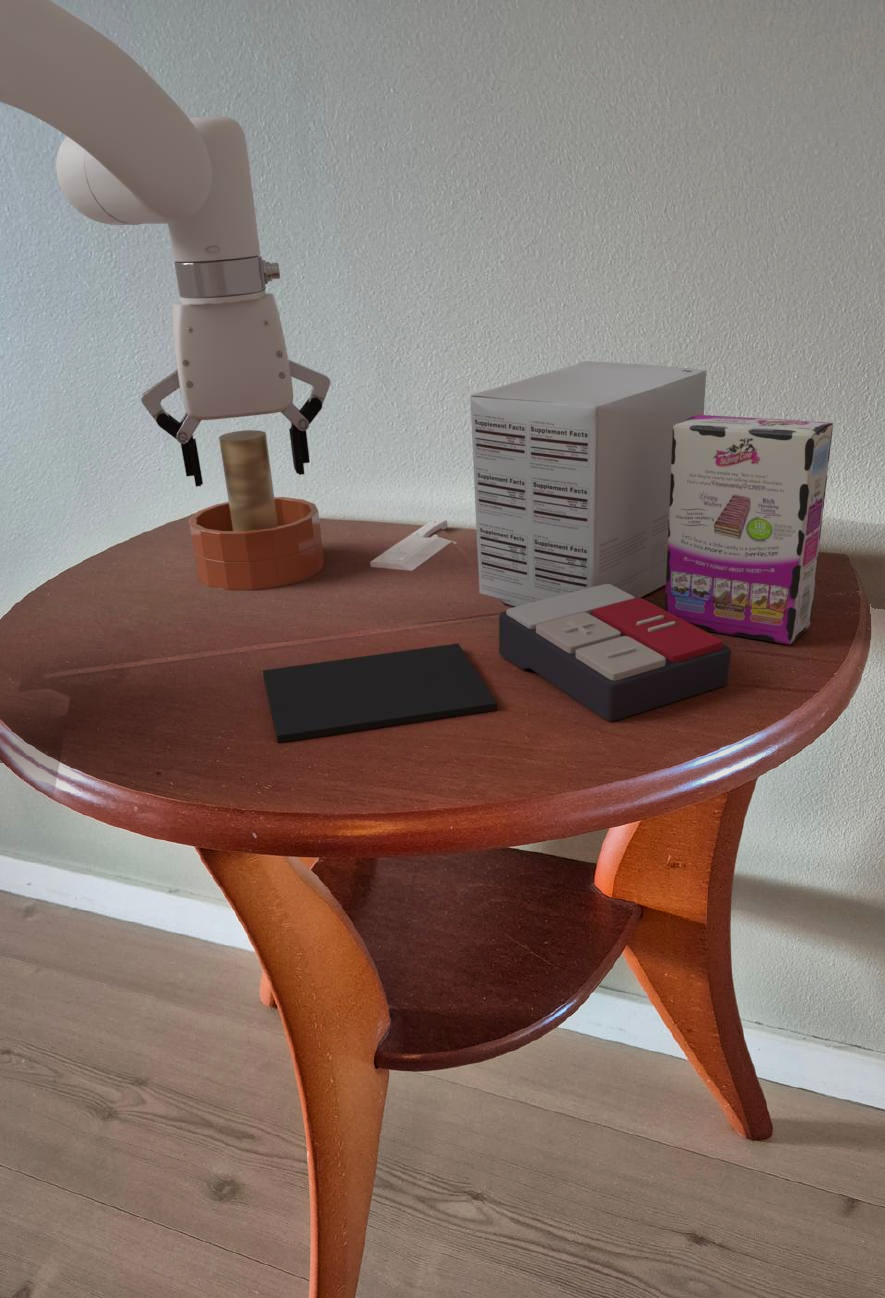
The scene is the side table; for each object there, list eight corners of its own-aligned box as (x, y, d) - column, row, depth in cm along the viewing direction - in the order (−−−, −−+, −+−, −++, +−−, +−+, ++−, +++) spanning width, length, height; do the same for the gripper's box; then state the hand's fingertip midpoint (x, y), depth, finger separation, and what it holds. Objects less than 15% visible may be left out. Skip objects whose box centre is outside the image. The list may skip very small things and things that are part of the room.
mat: (277, 743, 76) (276, 735, 76) (263, 676, 86) (262, 669, 86) (497, 710, 79) (497, 702, 79) (458, 649, 89) (458, 642, 89)
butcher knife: (475, 530, 117) (475, 520, 117) (415, 575, 106) (414, 564, 105) (433, 526, 119) (432, 516, 119) (369, 570, 108) (368, 559, 107)
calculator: (612, 676, 74) (496, 603, 85) (609, 731, 76) (496, 653, 88) (735, 639, 78) (609, 574, 90) (728, 692, 81) (607, 623, 92)
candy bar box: (812, 626, 89) (837, 420, 81) (791, 647, 86) (815, 434, 78) (685, 605, 95) (696, 410, 87) (660, 624, 92) (670, 423, 83)
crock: (201, 601, 103) (190, 539, 100) (197, 562, 113) (187, 505, 110) (331, 585, 105) (325, 523, 102) (315, 548, 115) (309, 491, 112)
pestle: (240, 578, 106) (220, 442, 100) (237, 564, 110) (217, 433, 104) (285, 572, 107) (267, 437, 101) (281, 559, 111) (263, 428, 104)
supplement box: (582, 548, 110) (583, 359, 101) (698, 570, 103) (711, 368, 94) (472, 598, 99) (464, 391, 91) (593, 627, 92) (597, 404, 83)
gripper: (313, 270, 100) (333, 458, 109) (121, 286, 97) (157, 478, 106) (323, 276, 94) (344, 476, 102) (119, 294, 91) (158, 497, 100)
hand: (249, 477), depth 104 cm, fingers open, 9 cm apart
